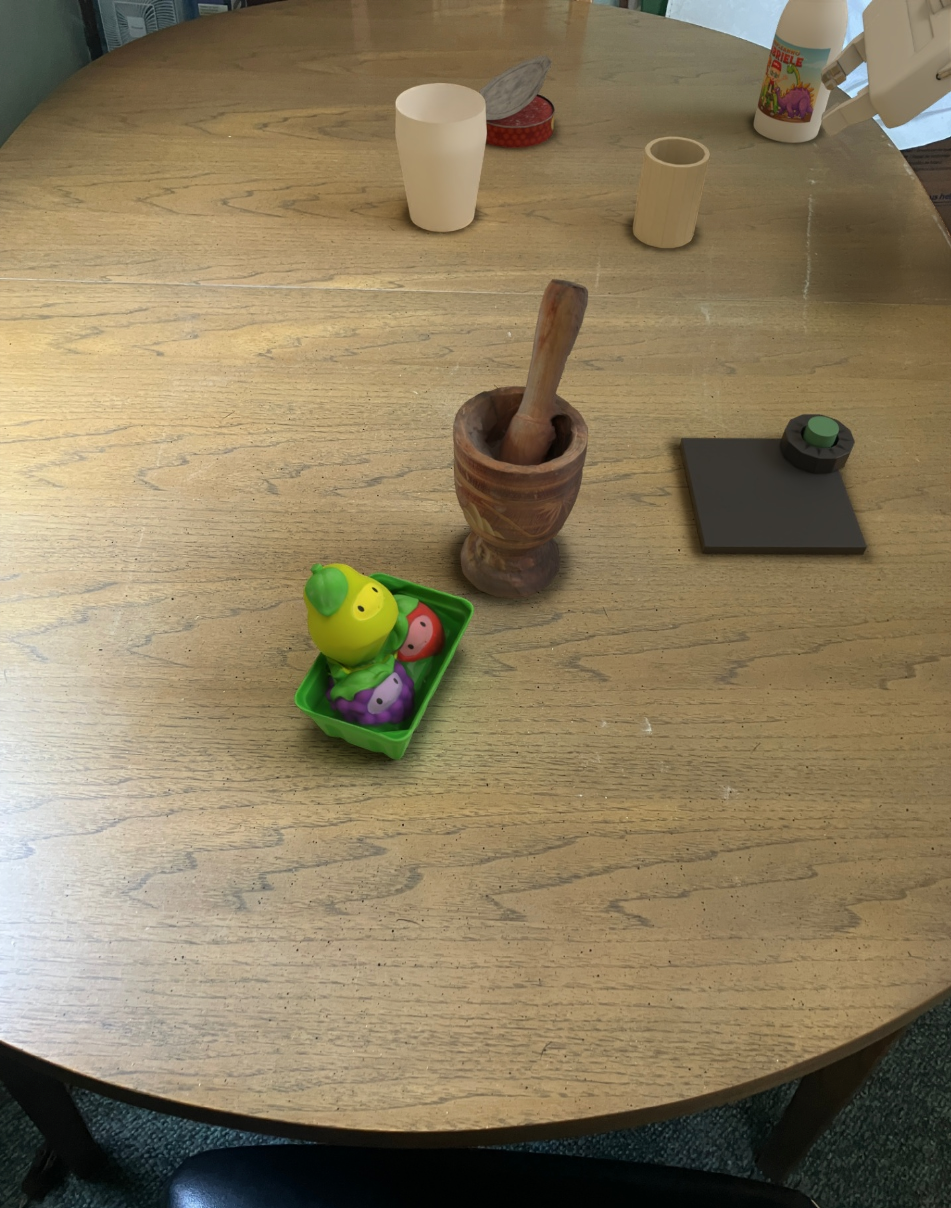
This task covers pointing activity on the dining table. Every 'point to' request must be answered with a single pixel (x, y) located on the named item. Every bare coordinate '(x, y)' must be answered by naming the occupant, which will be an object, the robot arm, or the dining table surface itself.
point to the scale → (772, 494)
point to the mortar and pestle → (522, 460)
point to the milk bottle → (800, 69)
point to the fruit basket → (376, 654)
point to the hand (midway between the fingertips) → (824, 103)
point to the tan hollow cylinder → (670, 191)
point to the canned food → (519, 105)
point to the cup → (441, 153)
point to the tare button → (821, 432)
